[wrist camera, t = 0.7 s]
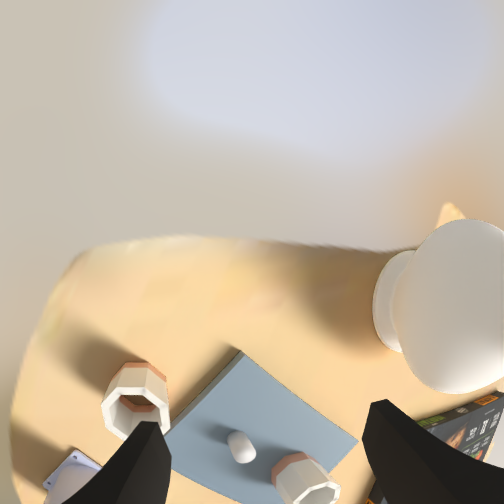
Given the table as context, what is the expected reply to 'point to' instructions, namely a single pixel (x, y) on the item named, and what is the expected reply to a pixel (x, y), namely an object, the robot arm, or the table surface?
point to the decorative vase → (447, 306)
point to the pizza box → (461, 431)
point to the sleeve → (135, 383)
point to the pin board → (249, 434)
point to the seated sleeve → (304, 481)
